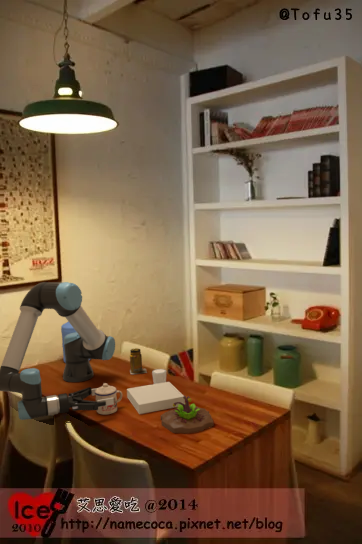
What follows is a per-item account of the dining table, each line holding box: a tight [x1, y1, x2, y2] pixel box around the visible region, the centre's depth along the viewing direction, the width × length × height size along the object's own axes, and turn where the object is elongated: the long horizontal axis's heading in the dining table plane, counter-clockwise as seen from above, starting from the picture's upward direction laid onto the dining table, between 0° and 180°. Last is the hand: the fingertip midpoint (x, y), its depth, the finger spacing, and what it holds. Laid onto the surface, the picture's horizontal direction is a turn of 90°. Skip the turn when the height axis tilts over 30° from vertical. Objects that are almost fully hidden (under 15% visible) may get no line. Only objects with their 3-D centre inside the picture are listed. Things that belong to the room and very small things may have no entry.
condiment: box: [129, 347, 148, 375], centre depth 248 cm, size 7×8×12 cm
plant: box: [160, 395, 214, 434], centre depth 186 cm, size 20×20×11 cm
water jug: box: [60, 320, 91, 364], centre depth 271 cm, size 16×16×28 cm
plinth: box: [126, 381, 186, 415], centre depth 208 cm, size 20×20×4 cm
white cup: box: [151, 368, 167, 384], centre depth 227 cm, size 7×7×7 cm
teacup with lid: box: [94, 382, 123, 416], centre depth 200 cm, size 12×9×12 cm
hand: (110, 395), depth 200 cm, fingers open, 13 cm apart
